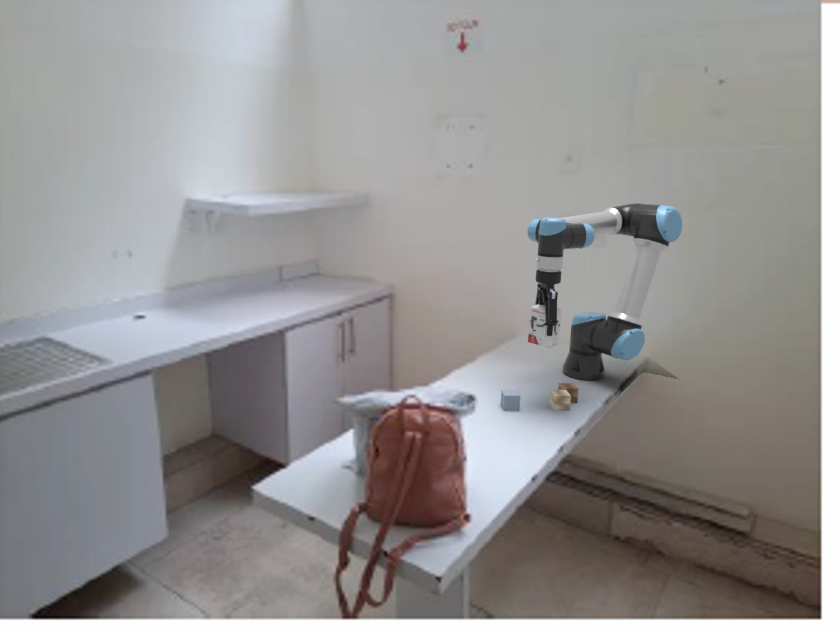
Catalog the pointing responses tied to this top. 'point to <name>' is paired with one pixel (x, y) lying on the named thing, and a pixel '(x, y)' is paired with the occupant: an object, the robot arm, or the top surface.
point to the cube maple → (560, 400)
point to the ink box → (542, 326)
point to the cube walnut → (570, 390)
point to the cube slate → (510, 400)
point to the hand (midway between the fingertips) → (543, 340)
